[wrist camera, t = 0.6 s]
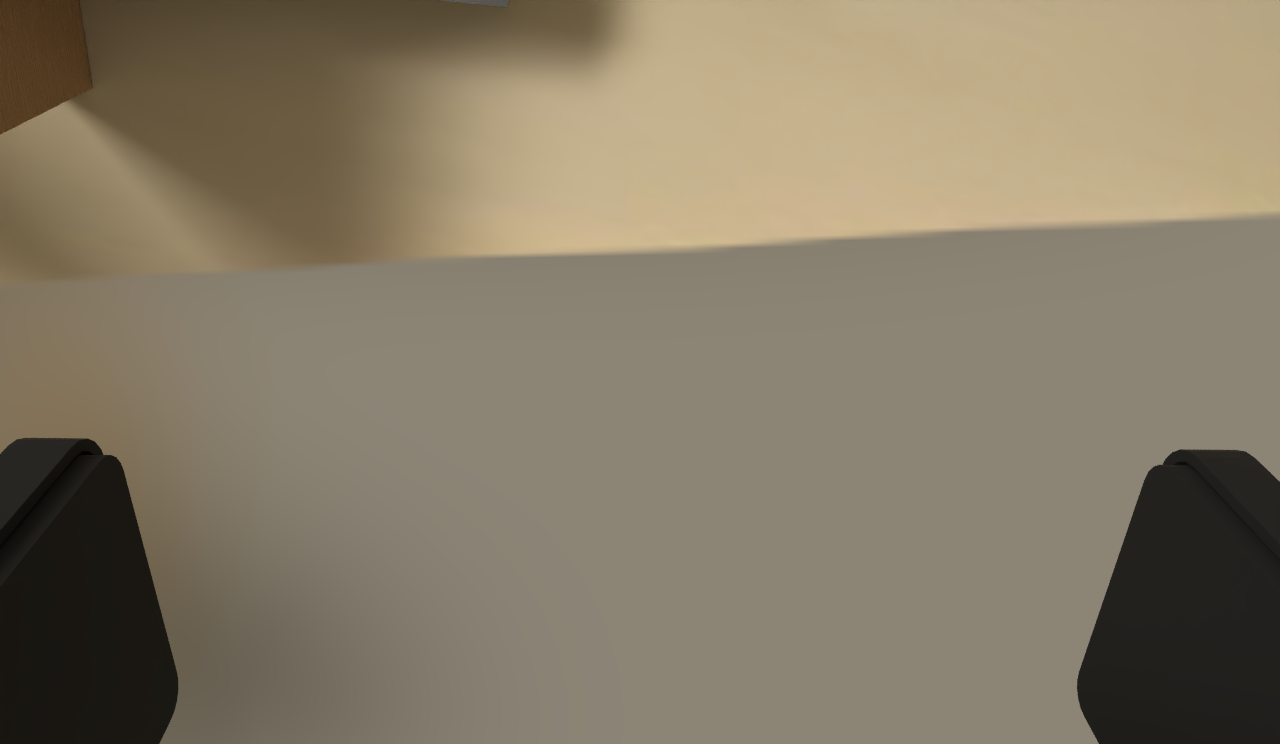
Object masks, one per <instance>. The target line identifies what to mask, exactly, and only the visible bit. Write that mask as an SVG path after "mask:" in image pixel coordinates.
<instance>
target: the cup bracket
mask: <svg viewBox="0 0 1280 744" xmlns="http://www.w3.org/2000/svg"><path fill="white" fill-rule="evenodd" d="M442 1H451V2H461V3H470V4H479V5H488V6H497V7H506V8H507V6H508V4H509V2H510V1H511V0H442ZM91 88H92V83H91V76H90V70H89V63H88V57H87V50H86V44H85V37H84V31H83V24H82V18H81V11H80V5H79V0H0V134H2V133H4V132H6V131H8V130H10V129H12V128H14V127H16V126H18V125H20V124H22V123H24V122H26V121H28V120H30V119H32V118H34V117H36V116H38V115H40V114H42V113H44V112H46V111H48V110H50V109H52V108H54V107H56V106H57V105H59V104H61V103H63V102H65V101H67V100H69V99H71V98H73V97H75V96H77V95H79V94H81V93H83V92H85V91H87V90H89V89H91Z"/></svg>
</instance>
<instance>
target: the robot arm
mask: <svg viewBox="0 0 1280 744" xmlns="http://www.w3.org/2000/svg"><path fill="white" fill-rule="evenodd" d="M1077 692H1078V699H1079V703H1080V707H1081V710H1082V712H1083V714H1084V717H1085V718H1086V720H1087V722H1088V724H1089V726H1090V728H1091V730H1092V731H1093V733H1094V735H1095V737H1096V739H1097V741H1098V742H1099V744H1280V482H1279V481H1278V480H1277V479H1276V478H1275V477H1274V476H1273V475H1272V474H1271V473H1270V472H1269V471H1268V470H1267V469H1266V468H1265V467H1264V466H1263V465H1262V464H1261V463H1259V462H1258V461H1257V460H1256V459H1255V458H1254V457H1253V456H1251V455H1250V454H1248V453H1247V452H1244V451H1238V450H1178V451H1175V452H1172V453H1171V454H1170V455H1169V456H1168V457H1167V458H1166V459H1165V461H1164V463H1163V465H1158V466H1155V467H1153V468H1152V469H1151V470H1150V471H1149V472H1148V474H1147V476H1146V478H1145V480H1144V483H1143V486H1142V489H1141V492H1140V495H1139V498H1138V501H1137V504H1136V506H1135V510H1134V512H1133V515H1132V518H1131V521H1130V524H1129V527H1128V530H1127V533H1126V536H1125V539H1124V542H1123V545H1122V548H1121V551H1120V553H1119V557H1118V560H1117V562H1116V565H1115V568H1114V571H1113V574H1112V577H1111V580H1110V583H1109V586H1108V589H1107V592H1106V595H1105V598H1104V600H1103V603H1102V606H1101V609H1100V612H1099V615H1098V618H1097V621H1096V624H1095V627H1094V630H1093V633H1092V636H1091V639H1090V642H1089V644H1088V647H1087V650H1086V653H1085V656H1084V659H1083V662H1082V665H1081V668H1080V671H1079V675H1078V681H1077ZM177 695H178V676H177V671H176V667H175V664H174V660H173V656H172V652H171V648H170V644H169V641H168V637H167V633H166V629H165V625H164V622H163V618H162V614H161V610H160V607H159V603H158V599H157V595H156V591H155V588H154V584H153V580H152V576H151V572H150V569H149V565H148V561H147V558H146V554H145V550H144V546H143V542H142V538H141V535H140V531H139V527H138V523H137V520H136V516H135V512H134V508H133V504H132V501H131V497H130V493H129V489H128V486H127V482H126V478H125V474H124V470H123V468H122V465H121V463H120V462H119V460H118V459H117V458H116V457H114V456H112V455H103V453H102V450H101V449H100V447H99V446H98V445H97V444H96V443H95V442H94V441H92V440H90V439H71V438H70V439H68V438H67V439H66V438H64V439H63V438H23V439H17V440H16V441H14V442H13V443H11V444H10V445H9V446H8V447H7V448H6V449H5V450H4V451H3V452H2V453H1V454H0V744H159V743H160V741H161V739H162V737H163V735H164V733H165V731H166V729H167V727H168V725H169V722H170V720H171V718H172V715H173V713H174V710H175V706H176V702H177Z"/></svg>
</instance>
